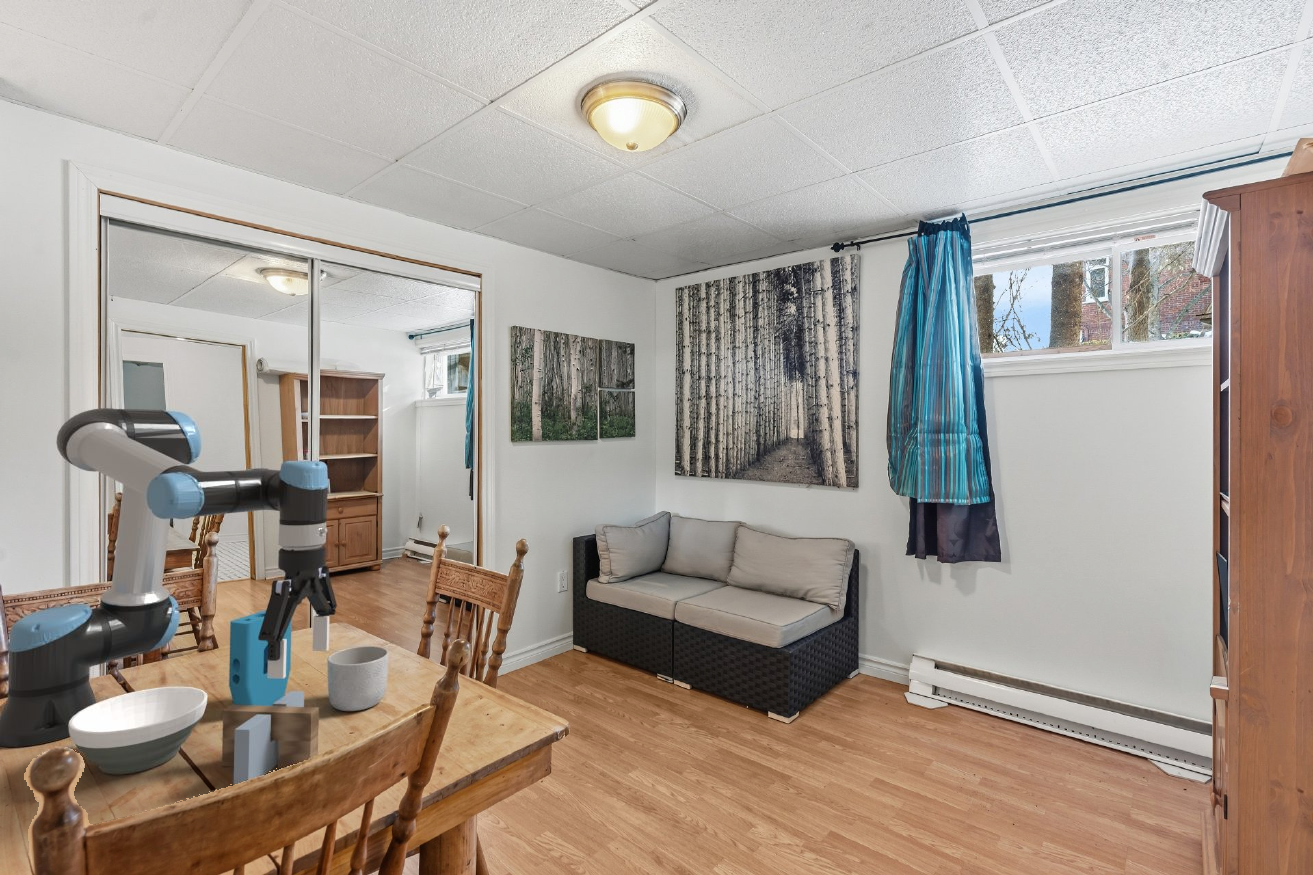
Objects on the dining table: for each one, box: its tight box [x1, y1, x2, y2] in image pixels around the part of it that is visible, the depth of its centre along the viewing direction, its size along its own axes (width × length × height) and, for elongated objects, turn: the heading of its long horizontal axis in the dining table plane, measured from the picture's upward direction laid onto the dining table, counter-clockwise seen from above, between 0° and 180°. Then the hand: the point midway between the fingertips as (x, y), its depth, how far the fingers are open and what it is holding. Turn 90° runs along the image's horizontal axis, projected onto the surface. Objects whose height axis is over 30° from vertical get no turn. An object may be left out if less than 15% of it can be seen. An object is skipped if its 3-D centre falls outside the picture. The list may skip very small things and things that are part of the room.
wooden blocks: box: [221, 704, 320, 769], centre depth 114 cm, size 16×2×10 cm, turn 89°
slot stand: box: [233, 690, 305, 785], centre depth 114 cm, size 16×2×10 cm, turn 179°
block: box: [228, 609, 293, 706], centre depth 138 cm, size 12×5×20 cm, turn 165°
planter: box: [326, 645, 390, 712], centre depth 140 cm, size 12×12×11 cm
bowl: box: [68, 686, 209, 775], centre depth 115 cm, size 20×20×10 cm
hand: (299, 663), depth 114 cm, fingers open, 13 cm apart
